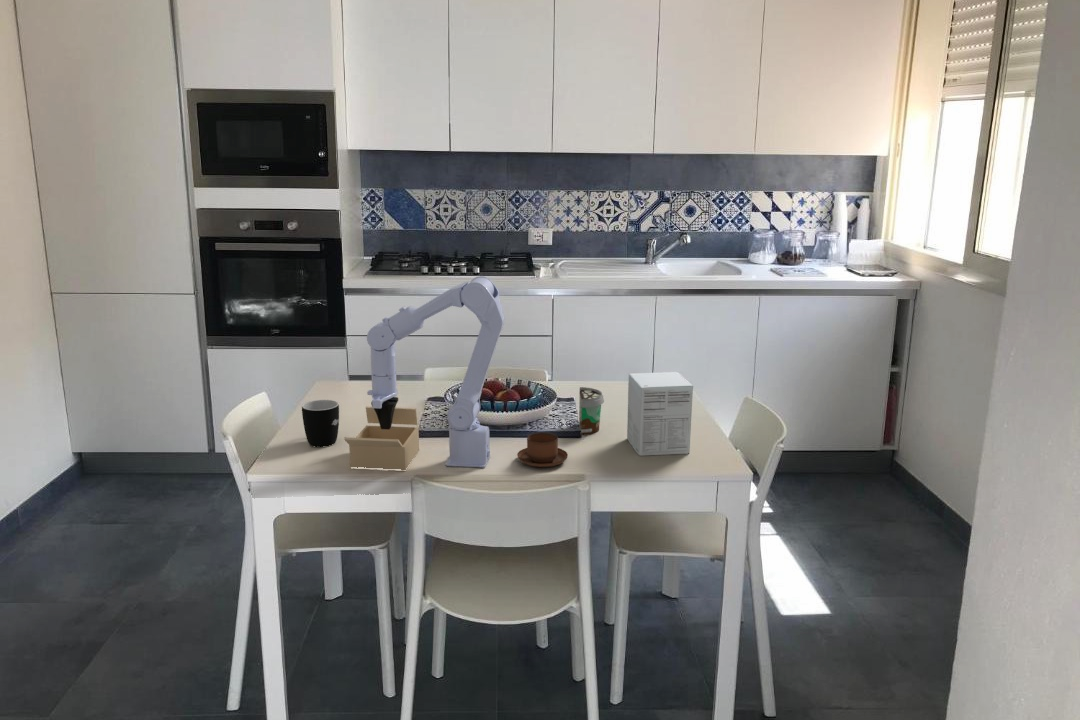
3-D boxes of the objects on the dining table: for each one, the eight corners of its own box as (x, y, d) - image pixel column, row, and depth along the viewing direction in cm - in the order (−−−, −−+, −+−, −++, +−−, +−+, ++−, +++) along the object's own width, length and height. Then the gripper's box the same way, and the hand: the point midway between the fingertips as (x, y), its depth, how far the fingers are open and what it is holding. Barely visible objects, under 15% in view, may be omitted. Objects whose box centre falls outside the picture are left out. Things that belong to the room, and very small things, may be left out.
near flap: (398, 439, 202) (398, 441, 202) (402, 445, 206) (402, 447, 206) (344, 437, 203) (344, 439, 203) (349, 443, 207) (349, 445, 207)
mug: (336, 449, 222) (334, 410, 220) (300, 449, 222) (297, 410, 219) (346, 433, 234) (344, 396, 231) (311, 433, 234) (309, 396, 231)
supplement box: (691, 454, 220) (694, 385, 216) (638, 456, 218) (640, 387, 214) (675, 436, 233) (678, 371, 229) (625, 438, 231) (627, 372, 227)
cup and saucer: (506, 461, 215) (506, 437, 213) (542, 449, 223) (542, 426, 222) (542, 475, 207) (542, 450, 205) (578, 462, 215) (578, 437, 213)
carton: (419, 450, 222) (418, 427, 220) (405, 471, 208) (404, 446, 207) (367, 448, 223) (366, 425, 221) (350, 469, 209) (349, 444, 208)
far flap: (417, 424, 220) (417, 423, 221) (415, 409, 218) (416, 408, 218) (367, 423, 221) (368, 421, 222) (365, 407, 219) (366, 406, 220)
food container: (605, 437, 232) (606, 400, 229) (581, 437, 232) (581, 400, 229) (601, 422, 244) (602, 386, 241) (578, 422, 244) (579, 386, 241)
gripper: (375, 365, 219) (377, 418, 222) (358, 381, 205) (360, 437, 208) (404, 366, 218) (405, 419, 222) (388, 382, 204) (390, 439, 208)
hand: (386, 428), depth 215 cm, fingers closed
